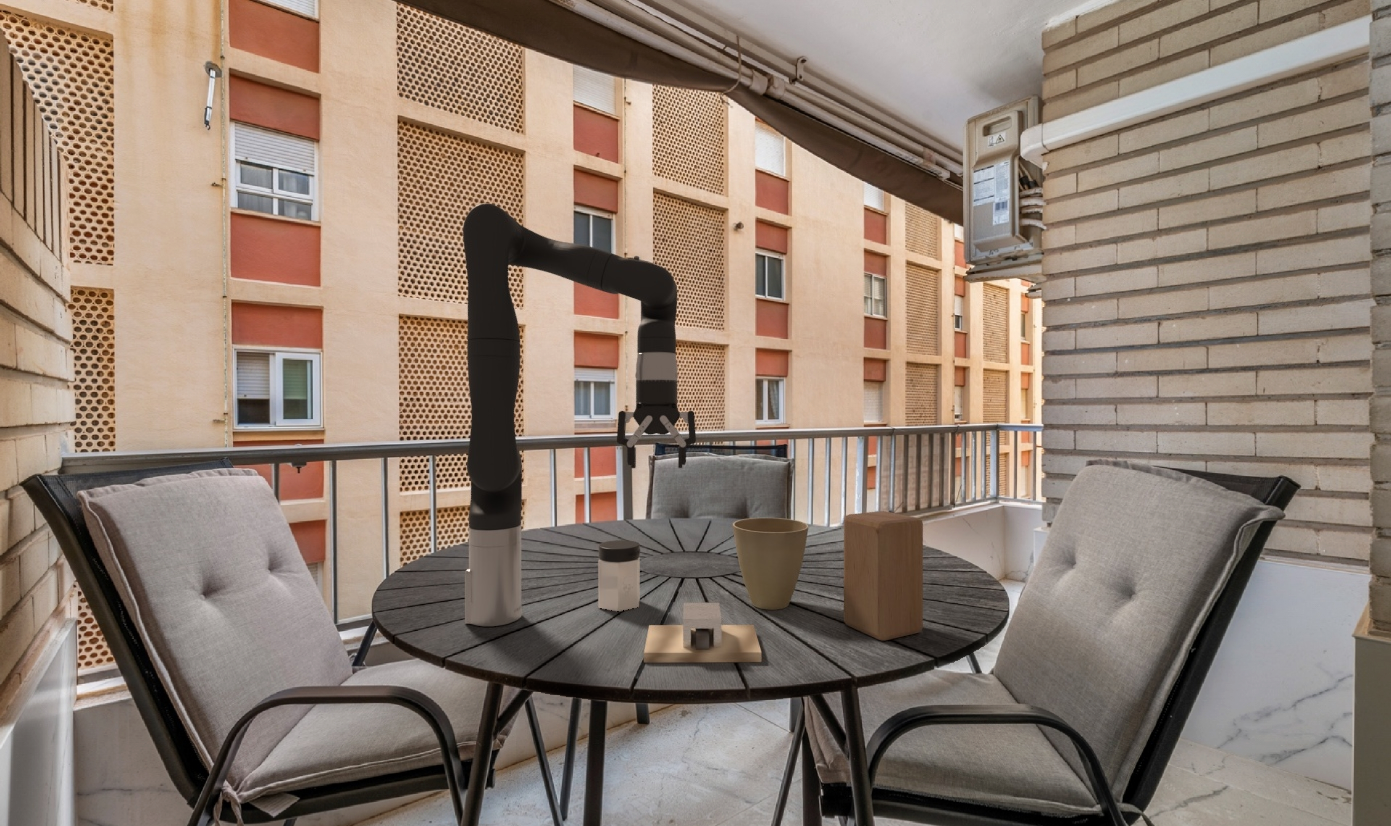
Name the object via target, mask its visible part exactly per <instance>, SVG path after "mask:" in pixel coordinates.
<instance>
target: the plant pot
mask: <svg viewBox="0 0 1391 826" xmlns="http://www.w3.org/2000/svg"><path fill="white" fill-rule="evenodd" d="M732 530H733V536H734V537H733V538H734V543H735V548H736V549H735V550H736V554H737V559H738V564H739V568H740V572H741V576H742V579H743V583H744V586H745V590H746V592H747V594H748V597H749V600H750V602H751V605H752V606H753V607H755V608H758V609H762V610H769V611H770V610H773V611H775V610H781V609H785V608H787V607H789V604H790V603H791V600H792V597H793V595H794V591H795V588H796V586H797V582H798V580H799V576H800V572H801V569H802V565H803V561H804V556H805V551H806V545H807V540H808V539H807V538H808V533H809V525H808V523H806V522H803V521H800V520H795V519H790V518H780V517H754V518H753V517H751V518H744V519H739V520H736V521H734V522H732Z"/></svg>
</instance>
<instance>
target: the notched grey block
mask: <svg viewBox="0 0 1391 826" xmlns="http://www.w3.org/2000/svg"><path fill="white" fill-rule="evenodd" d="M682 611H683V613H682V615H683V616H682V619H683V620H682V622H683V623H682V625H683V648H691V628H712V635H713V644H714V648H715V647H721V625H722V613H721V607H720V603H719V602H683V610H682Z"/></svg>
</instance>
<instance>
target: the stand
mask: <svg viewBox="0 0 1391 826" xmlns="http://www.w3.org/2000/svg"><path fill="white" fill-rule="evenodd" d="M643 663H645V664H646V663H647V664H648V663H649V664H651V663H762V649H761V647H760V643H759V639H758V636H757V632H756V628H755V625H754V624H721V647H715V648H714V644H713V635H712V628H691V648H683V624H677V625H676V624H666V625H665V624H664V625H663V624H662V625H661V624H659V625H658V624H655V625H654V624H653V625H652V624H651V625H650V624H649V625H648V631H647V635H646V639H645V645H644V650H643Z"/></svg>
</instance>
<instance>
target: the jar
mask: <svg viewBox="0 0 1391 826" xmlns="http://www.w3.org/2000/svg"><path fill="white" fill-rule="evenodd" d="M640 545H641V544H640V543H639V542H637V541H634V540H627V539H625V540H624V539H623V540H621V539H619V540H618V539H617V540H609V541H608V540H607V541H604V542H602V543H600V544H599V545H598V562H597V563H598V564H597V566H598V568H597V569H598V571H597V572H598V573H597V574H598V580H597V581H598V586H597V587H598V598H597V599H598V600H597V601H598V603H597V604H598V609H600V608H602V609H601V610H605V609H607V611H611V610H612V612H617V611H619V612H623V610H624V611H628V609H629V610H633V609H632V608H634V609H638V608H639V606H640V601H641V600H640V596H641V595H640V584H641V583H640V577H641V576H640V570H641V569H640V559H641V558H640V557H641V555H640V554H641V546H640ZM637 607H638V608H637Z"/></svg>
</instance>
